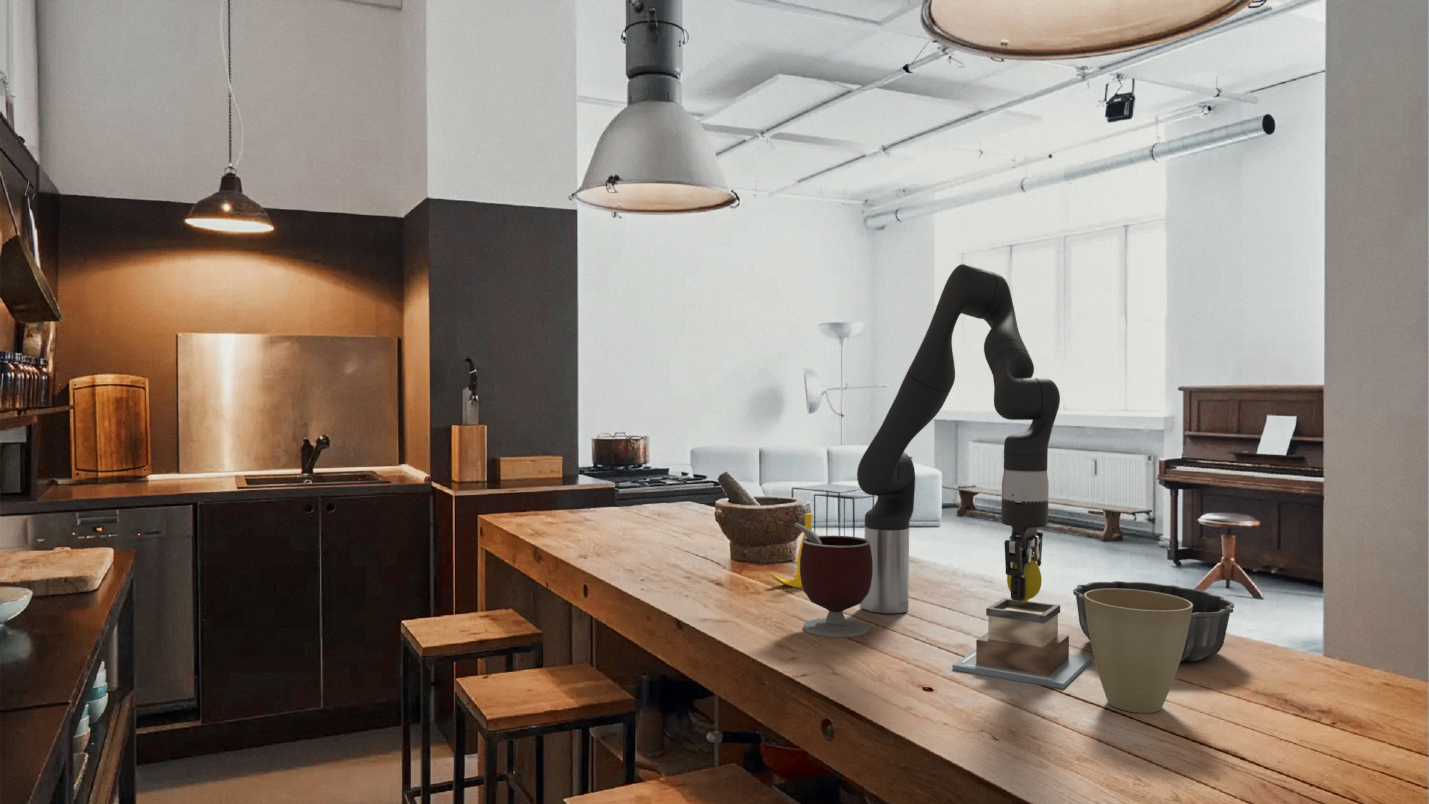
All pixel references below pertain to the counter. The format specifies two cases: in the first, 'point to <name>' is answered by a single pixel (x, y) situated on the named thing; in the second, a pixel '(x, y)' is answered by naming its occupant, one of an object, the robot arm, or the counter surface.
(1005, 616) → the block tower
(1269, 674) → the counter surface
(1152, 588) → the bundt pan
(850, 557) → the mate gourd
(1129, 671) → the plant pot
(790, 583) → the banana peel
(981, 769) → the counter surface
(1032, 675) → the board
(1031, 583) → the lemon
